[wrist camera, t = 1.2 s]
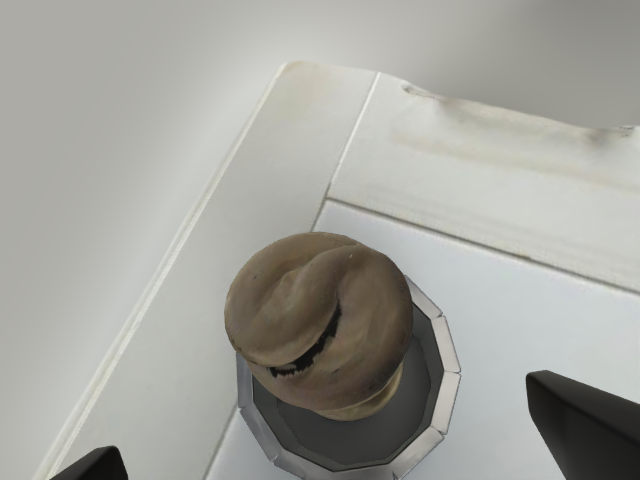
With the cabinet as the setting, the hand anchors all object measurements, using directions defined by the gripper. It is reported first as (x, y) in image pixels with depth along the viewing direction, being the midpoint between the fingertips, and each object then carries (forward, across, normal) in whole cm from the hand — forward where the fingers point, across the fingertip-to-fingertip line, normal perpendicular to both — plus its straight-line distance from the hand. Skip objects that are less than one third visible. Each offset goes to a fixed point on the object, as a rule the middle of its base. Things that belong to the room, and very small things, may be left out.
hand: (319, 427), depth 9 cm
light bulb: (+14, 0, +7) cm, 16 cm away
